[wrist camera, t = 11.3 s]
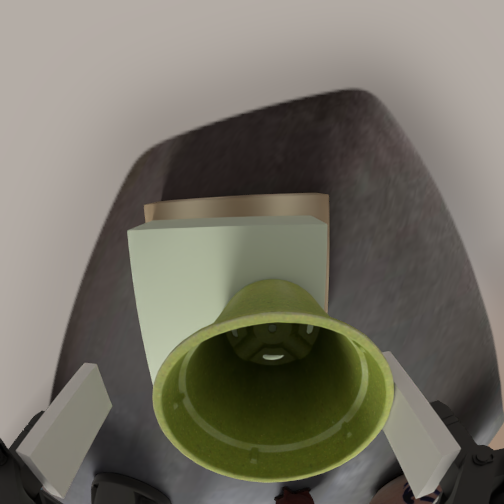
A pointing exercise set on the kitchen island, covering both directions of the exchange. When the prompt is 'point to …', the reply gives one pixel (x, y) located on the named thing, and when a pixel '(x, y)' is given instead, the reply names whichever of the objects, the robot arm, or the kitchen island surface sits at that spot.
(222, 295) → the upper block
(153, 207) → the lower block
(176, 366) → the plant pot
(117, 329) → the kitchen island surface
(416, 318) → the kitchen island surface
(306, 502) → the mate gourd
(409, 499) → the ceramic pitcher
